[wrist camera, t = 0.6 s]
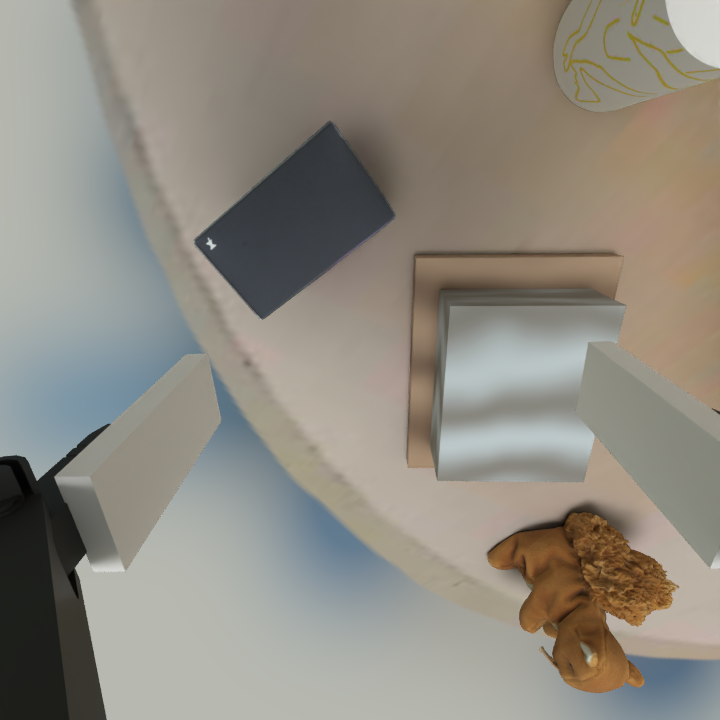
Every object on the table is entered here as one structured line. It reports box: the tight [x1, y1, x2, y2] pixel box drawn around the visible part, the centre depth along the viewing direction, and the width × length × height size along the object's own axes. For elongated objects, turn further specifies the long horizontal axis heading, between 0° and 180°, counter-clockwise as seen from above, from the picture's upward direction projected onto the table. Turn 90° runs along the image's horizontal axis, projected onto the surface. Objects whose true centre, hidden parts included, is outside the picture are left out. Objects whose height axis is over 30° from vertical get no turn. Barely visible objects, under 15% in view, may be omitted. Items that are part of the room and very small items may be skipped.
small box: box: [194, 121, 395, 320], centre depth 28 cm, size 11×6×10 cm, turn 127°
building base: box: [407, 254, 626, 482], centre depth 35 cm, size 20×16×6 cm
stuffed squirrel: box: [488, 512, 679, 693], centre depth 40 cm, size 10×14×13 cm
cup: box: [553, 0, 720, 112], centre depth 23 cm, size 8×8×12 cm
